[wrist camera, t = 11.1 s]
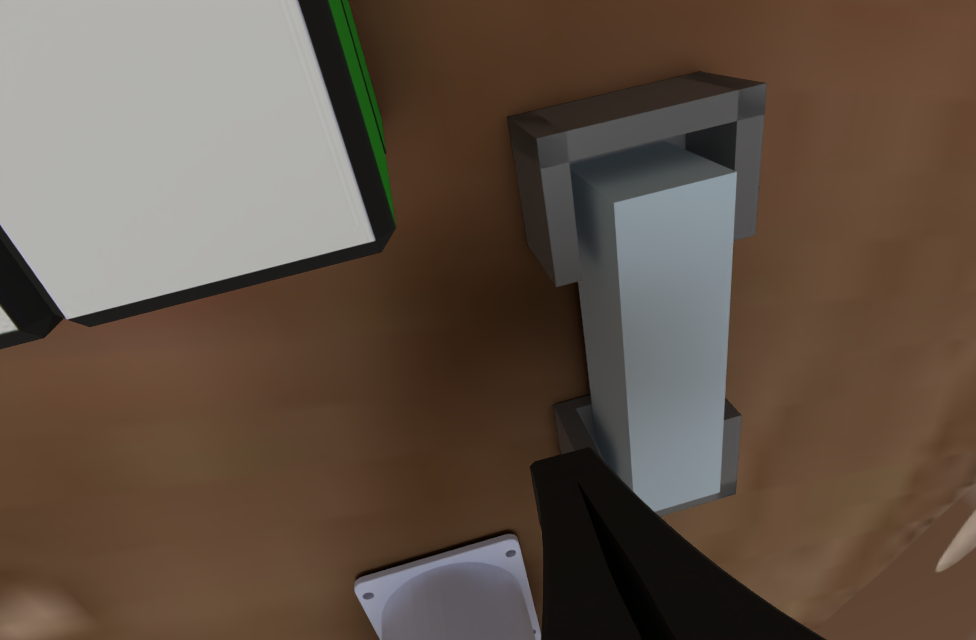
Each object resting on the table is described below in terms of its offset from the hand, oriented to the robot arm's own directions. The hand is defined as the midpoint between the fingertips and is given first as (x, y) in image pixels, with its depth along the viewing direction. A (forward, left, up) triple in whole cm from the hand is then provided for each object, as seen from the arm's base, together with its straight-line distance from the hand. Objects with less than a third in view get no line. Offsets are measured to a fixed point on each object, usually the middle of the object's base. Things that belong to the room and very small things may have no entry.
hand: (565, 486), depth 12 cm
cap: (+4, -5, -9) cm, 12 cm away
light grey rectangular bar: (-2, -5, -9) cm, 10 cm away
